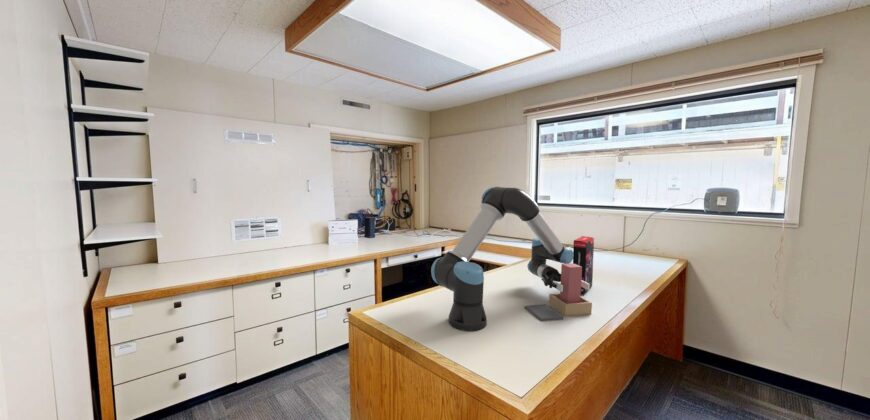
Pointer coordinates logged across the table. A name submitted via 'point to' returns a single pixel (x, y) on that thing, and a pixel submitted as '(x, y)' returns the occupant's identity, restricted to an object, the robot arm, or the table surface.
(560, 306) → the hollow rectangular frame
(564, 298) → the pink rectangular block
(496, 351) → the table surface
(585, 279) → the graphics card box
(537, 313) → the rubber mat
